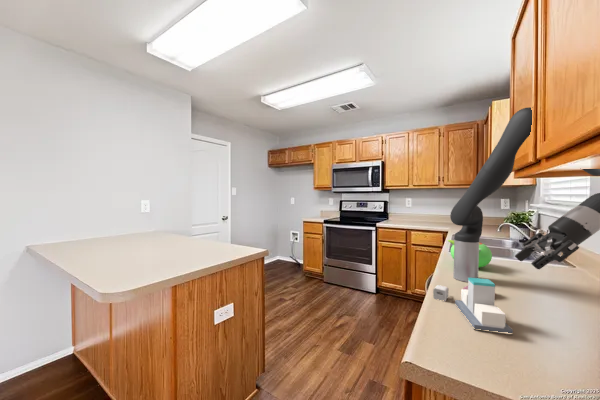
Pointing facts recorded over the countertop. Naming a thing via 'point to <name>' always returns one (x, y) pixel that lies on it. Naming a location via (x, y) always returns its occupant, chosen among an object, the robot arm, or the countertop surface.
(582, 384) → the countertop surface
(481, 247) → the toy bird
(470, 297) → the teal and white module
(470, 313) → the board
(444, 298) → the usb wall charger
